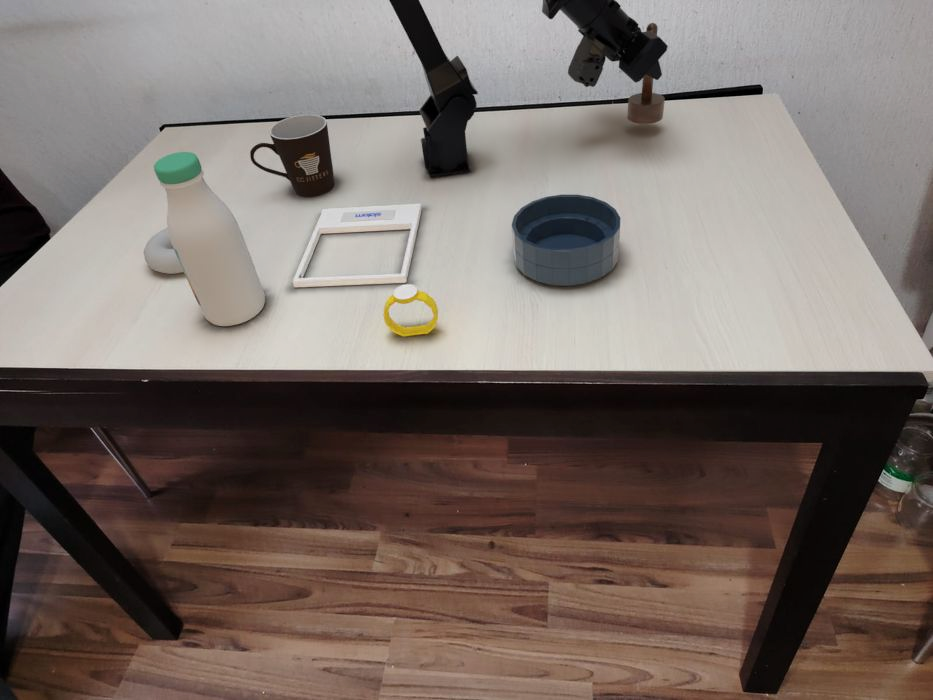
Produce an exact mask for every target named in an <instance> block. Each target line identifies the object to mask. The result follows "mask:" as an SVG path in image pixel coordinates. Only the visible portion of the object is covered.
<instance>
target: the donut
mask: <svg viewBox="0 0 933 700" xmlns="http://www.w3.org/2000/svg"><path fill="white" fill-rule="evenodd" d="M143 257H144V261H145V263H146V265H148V266H149V268H151V269H152V270H154V271H155V272H159V273H162V274H166V275H167V274H169V275H170V274H171V275H173V274H174V275H175V274H181V273H184V271H183V269H182V267H181V265H180V262H179V260H178V258H177V256H176V253H175V251H174V248H173V246H172V243H171V241H170V237H169V234H168V228H167V227H166V228H164V229H162V230H160V231H158V232H157V233H155V234H154V235H152V236H151V237H150V239H148V240H147V242H146V244H145V246H144V249H143Z"/></svg>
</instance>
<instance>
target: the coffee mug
mask: <svg viewBox="0 0 933 700" xmlns="http://www.w3.org/2000/svg"><path fill="white" fill-rule="evenodd" d="M328 128H329V127H328V122H327V119H326V118H325V117H324V116H322V115H318V114H300V115H294V116H289V117H287V118H284V119H281V120H279V121H277V122H276V123H274V124H273V125H272V126H271V127H270V128H269V131H268V133H269V136H270V137H271V140H272V143H268V142H260V143H257V144H256V145H254V146H253V147H252V148H251V149H250V151H249V155H250V161H251V163H252V164H253V165H254V166H256V167H257V168H258V169H259V170H262V171H264V172H266V173H268V174H273V175H275V176H280V177H281V178H282V177H283V178H285V179H287V180H288V182H290V184H291V186H292V188H293V191H294V193H295V195H297V196H299V197H301V198H314V197H319V196H322V195H324V194H327V193H328V192H330V191H332V190H333V189H334V187H335V175H334V167H333V159H332V153H331V152H332V151H331V145H330V136H329V135H330V134H329V129H328ZM261 148H268V149H270V150H271V151H273V153H274V154H276V155H277V156H279V159H280V161H281V163H282V165H283V168H284V170H285V172H282V171H279V170H275V169H272V168H270V167H269V168H268V167H266V166H264V165H262V164H260V163H259V162H258V161H256V159H255V153H256V152H257V151H258V150H259V149H261Z"/></svg>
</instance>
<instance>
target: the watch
mask: <svg viewBox="0 0 933 700" xmlns="http://www.w3.org/2000/svg"><path fill="white" fill-rule="evenodd" d="M416 300H417V301H419V302H423V303H424V304H425V305H426V306H428V307H429V308H430V309H431V311H432V314H433V318H432V319H431V320H430V321H428V323H427V324H422V325H414V326H407V327H405V326H403V325H400V324H398V323H397V322H395V321H394V320H393V318H392V317H390V313H389V312H390V311H389V310H390V308H391V306H392V305H394V304H395V303H397V304H401V305H407V304H410V303H413V302H414V301H416ZM382 313H383V315H382V316H383V319H384V323H385V325H386V326H387V327H388V329H389V330H390V331H391V332H392V333H394V334H396V335H399V336H401V337H403V338H404V337H410V336H419V335H428V334H430V333H431V332H432V330H434V329H435V328H436V326H437V323H438V318H439V308H438V306H437V303H436V301H435V299H434V298H433V297H432V296H430V295H429V294H428V293H427V292H425V291H422V290H418V287H417V286H416V285H414V284H411V283H407V284H405V283H404V284H401V285H399V286H397V287H396V288H395V289H394V290H393V292H392V294H391V295H390V296H388V298H387V299H386V302H385V304H384V307H383V312H382Z"/></svg>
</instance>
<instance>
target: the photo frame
mask: <svg viewBox="0 0 933 700" xmlns="http://www.w3.org/2000/svg"><path fill="white" fill-rule="evenodd" d="M422 210H423V207H422V203H407V204H389V205H388V204H386V205H369V206H354V207H353V206H351V207H334V208H333V207H332V208H322V210H321V212H320V215H319V218H318V220H317V223H316V224H315V227H314V229H313V232H312V234H311V237H310V239H309V242H308V243H307V246H306V248H305V251H304V254H303V256H302V258H301V260H300V263H299V265H298V267H297V269H296V272H295V275H294V277H293V278H292V282H291V283H292V285H293V288H313V287H314V288H315V287H335V286H357V285H360V286H361V285H381V284H382V285H383V284H405V283H407V281H408V276H409V272H410V268H411V262H412V257H413V253H414V248H415V243H416V239H417V234H418V230H419V224H420V219H421V215H422ZM398 230H401V231H402V230H410V231H409V234H408V240H407V244H406V249H405V252H404V258H403V261H402V266H401V271H400V273H387V274H386V273H385V274H384V273H383V274H363V275H362V274H361V275H360V274H359V275H340V276H339V275H337V276H317V277H304V276H305V274H306V271H307V269H308V266H309V264H310V261H311V259H312V257H313V254H314V251H315V249H316V247H317V245H318V242H319V240H320V237H321V235H322V234H343V233H361V232H363V233H364V232H378V231H398Z"/></svg>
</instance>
